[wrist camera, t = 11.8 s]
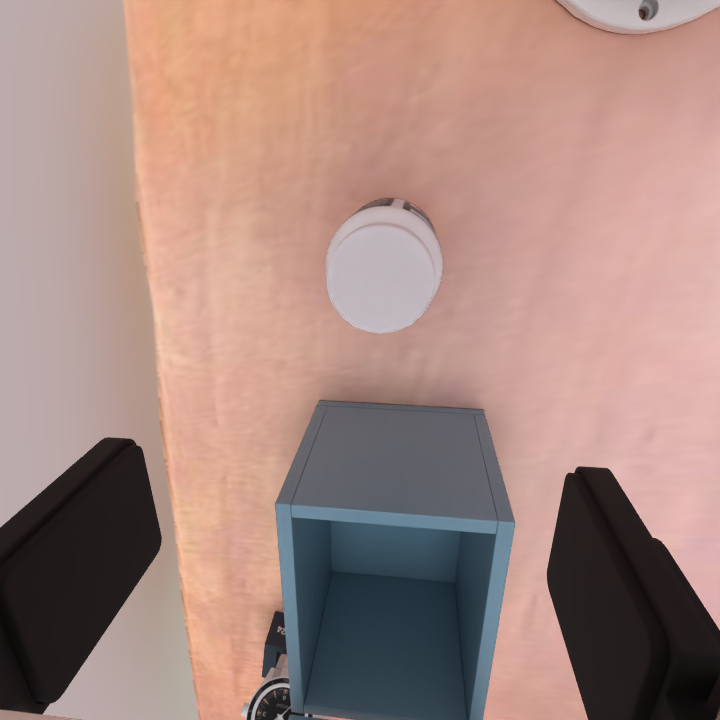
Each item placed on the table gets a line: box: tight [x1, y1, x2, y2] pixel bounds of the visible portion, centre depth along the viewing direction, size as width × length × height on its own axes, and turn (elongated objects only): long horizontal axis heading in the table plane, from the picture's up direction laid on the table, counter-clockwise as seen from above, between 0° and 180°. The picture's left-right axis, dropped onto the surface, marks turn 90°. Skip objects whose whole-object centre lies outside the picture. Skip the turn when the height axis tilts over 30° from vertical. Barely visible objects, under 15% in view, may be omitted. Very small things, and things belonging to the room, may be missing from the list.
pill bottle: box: [326, 198, 443, 333], centre depth 24 cm, size 6×6×10 cm
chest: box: [275, 401, 515, 720], centre depth 31 cm, size 16×12×11 cm
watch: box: [241, 612, 314, 720], centre depth 38 cm, size 6×8×11 cm
